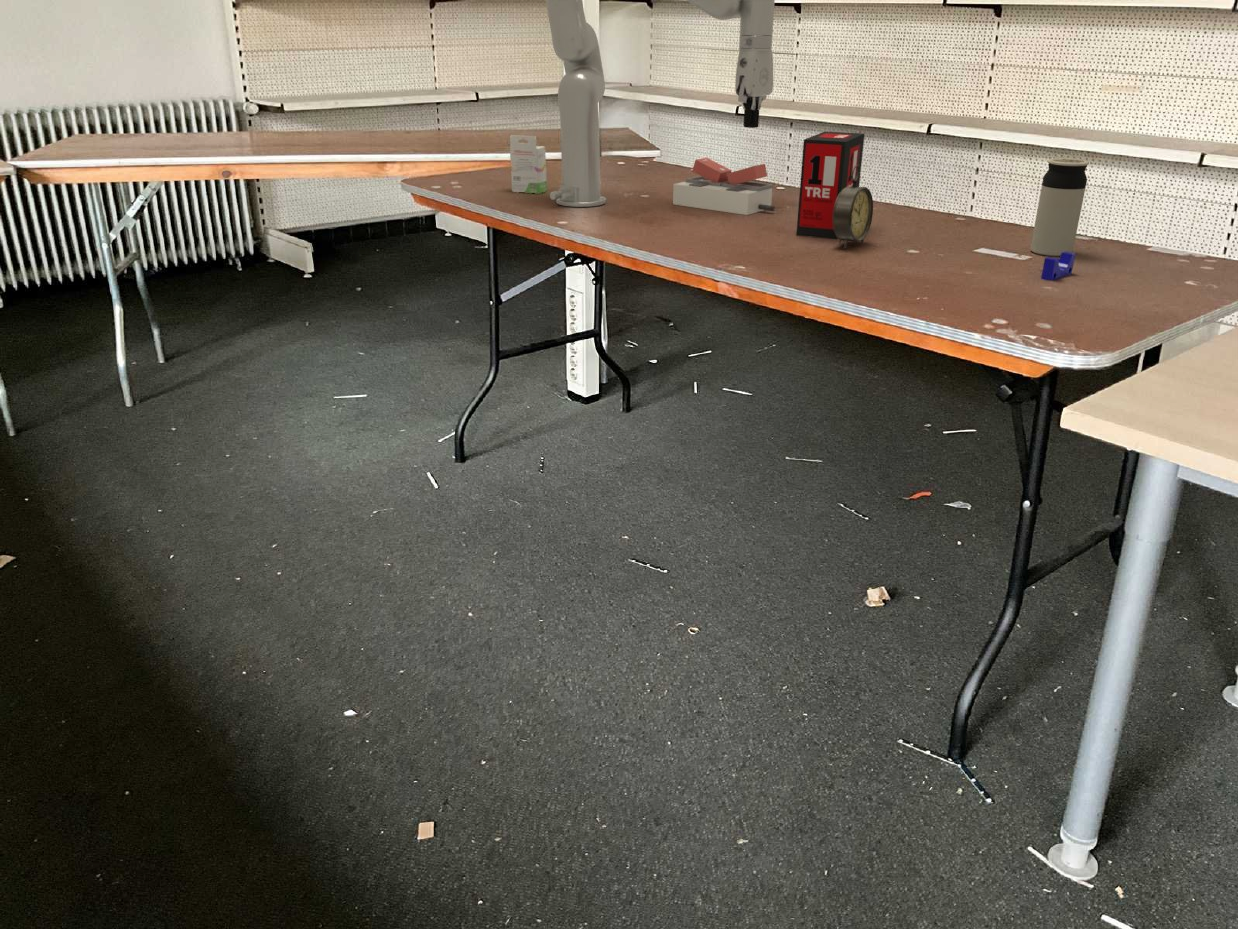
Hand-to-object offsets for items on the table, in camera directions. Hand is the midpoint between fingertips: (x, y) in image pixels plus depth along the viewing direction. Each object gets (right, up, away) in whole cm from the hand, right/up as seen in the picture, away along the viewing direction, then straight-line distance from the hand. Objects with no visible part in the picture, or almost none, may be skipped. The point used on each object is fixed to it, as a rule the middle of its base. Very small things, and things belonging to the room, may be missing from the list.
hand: (750, 126), depth 233 cm
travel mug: (+56, -38, -35) cm, 77 cm away
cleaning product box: (+15, -29, -16) cm, 36 cm away
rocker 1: (-9, -8, +11) cm, 16 cm away
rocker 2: (0, -11, +5) cm, 12 cm away
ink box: (-56, -8, +29) cm, 63 cm away
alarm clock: (+16, -35, -30) cm, 49 cm away
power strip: (-4, -17, +9) cm, 20 cm away
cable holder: (+49, -46, -52) cm, 85 cm away
